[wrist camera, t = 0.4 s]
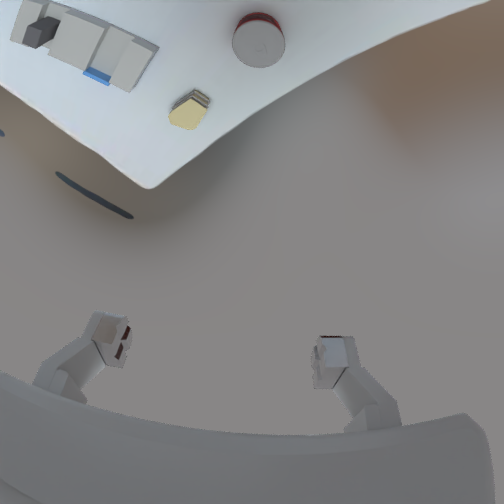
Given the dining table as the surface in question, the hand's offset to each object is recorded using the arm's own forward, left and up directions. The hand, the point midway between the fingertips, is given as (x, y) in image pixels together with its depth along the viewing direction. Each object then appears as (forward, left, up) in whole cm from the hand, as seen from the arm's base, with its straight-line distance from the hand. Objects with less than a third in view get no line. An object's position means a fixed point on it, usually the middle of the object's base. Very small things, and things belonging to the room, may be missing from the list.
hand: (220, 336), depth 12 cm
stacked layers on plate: (+19, 0, -52) cm, 55 cm away
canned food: (-1, +1, -51) cm, 51 cm away
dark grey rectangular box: (+17, -36, -50) cm, 64 cm away
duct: (+17, -29, -51) cm, 61 cm away
